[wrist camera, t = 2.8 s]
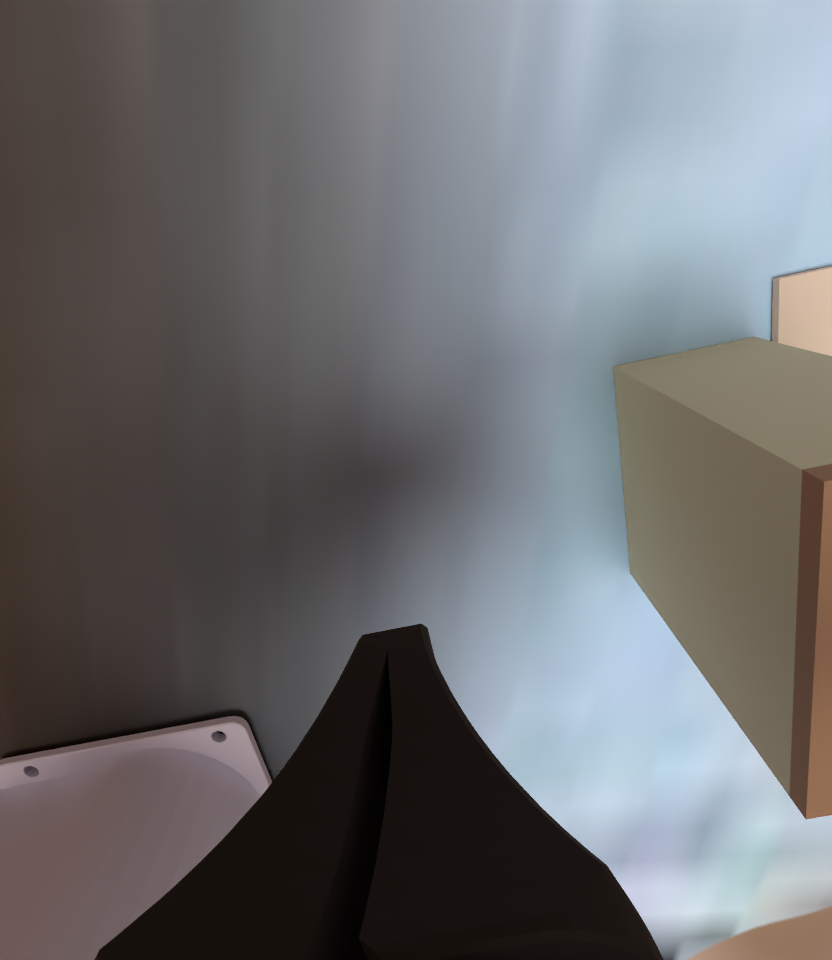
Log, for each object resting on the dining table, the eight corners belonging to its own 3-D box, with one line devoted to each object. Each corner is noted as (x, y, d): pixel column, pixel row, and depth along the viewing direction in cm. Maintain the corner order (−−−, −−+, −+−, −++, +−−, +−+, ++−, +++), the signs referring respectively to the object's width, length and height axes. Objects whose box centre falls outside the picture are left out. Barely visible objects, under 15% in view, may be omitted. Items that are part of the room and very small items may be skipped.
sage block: (630, 572, 19) (805, 819, 11) (612, 366, 17) (823, 481, 8) (751, 549, 19) (1024, 781, 11) (752, 336, 17) (1111, 424, 8)
